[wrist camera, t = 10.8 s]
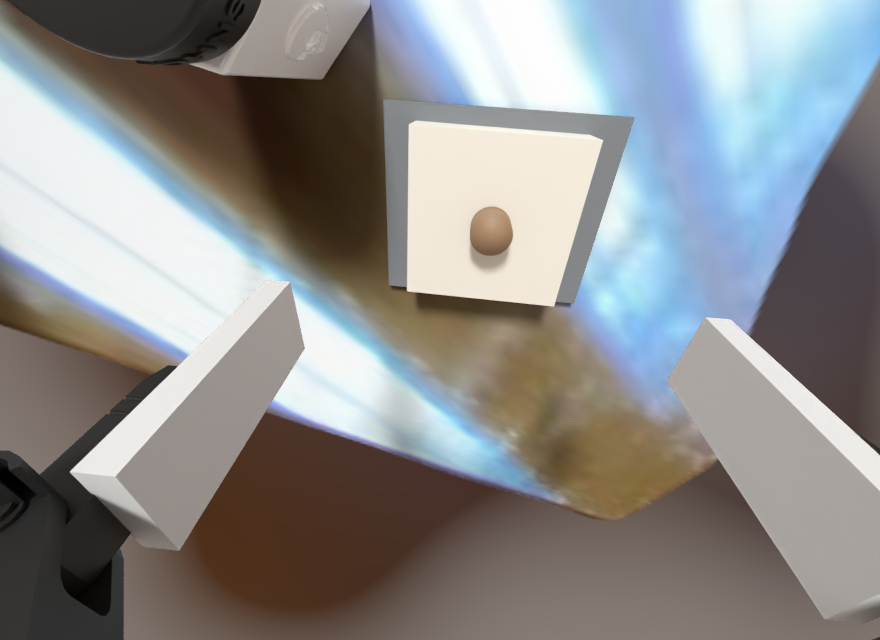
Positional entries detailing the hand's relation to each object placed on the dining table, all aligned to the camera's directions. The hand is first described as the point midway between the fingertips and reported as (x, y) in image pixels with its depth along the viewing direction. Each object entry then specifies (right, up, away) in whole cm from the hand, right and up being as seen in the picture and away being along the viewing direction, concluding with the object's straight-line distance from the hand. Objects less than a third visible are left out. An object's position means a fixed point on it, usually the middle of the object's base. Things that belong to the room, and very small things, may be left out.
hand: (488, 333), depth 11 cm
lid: (+2, +7, +11) cm, 13 cm away
